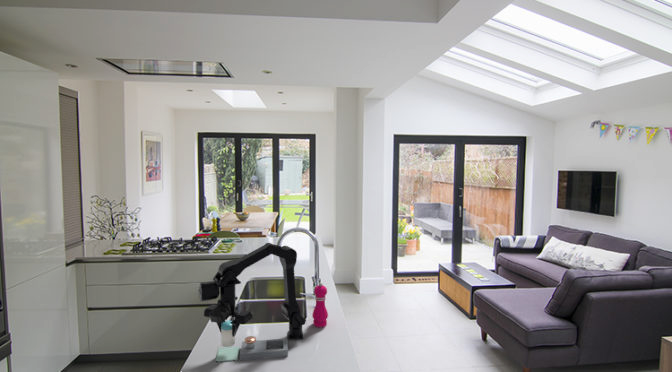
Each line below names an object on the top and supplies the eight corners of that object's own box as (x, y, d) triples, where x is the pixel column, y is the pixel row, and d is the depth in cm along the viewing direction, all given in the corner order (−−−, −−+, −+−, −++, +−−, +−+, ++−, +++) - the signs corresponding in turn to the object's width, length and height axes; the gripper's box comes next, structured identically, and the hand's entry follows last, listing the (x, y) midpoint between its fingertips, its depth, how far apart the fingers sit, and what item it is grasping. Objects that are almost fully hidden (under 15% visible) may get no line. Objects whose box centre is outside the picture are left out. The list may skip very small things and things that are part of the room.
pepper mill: (310, 322, 166) (310, 280, 164) (324, 319, 169) (325, 279, 167) (315, 329, 159) (316, 286, 158) (330, 326, 162) (331, 284, 161)
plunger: (245, 350, 141) (244, 336, 140) (256, 349, 142) (256, 335, 141) (244, 356, 136) (244, 342, 136) (255, 355, 137) (255, 341, 137)
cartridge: (218, 345, 136) (218, 325, 135) (227, 339, 140) (226, 319, 140) (229, 348, 134) (229, 327, 133) (237, 341, 138) (237, 322, 138)
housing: (242, 347, 143) (242, 341, 143) (286, 344, 146) (286, 338, 146) (240, 360, 134) (240, 353, 134) (287, 356, 137) (287, 350, 137)
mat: (219, 349, 141) (219, 348, 141) (239, 347, 143) (239, 346, 143) (215, 362, 132) (215, 360, 132) (237, 360, 134) (237, 359, 134)
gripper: (193, 300, 131) (193, 340, 132) (235, 308, 125) (235, 350, 126) (213, 289, 142) (213, 327, 143) (253, 296, 135) (253, 335, 137)
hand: (228, 334), depth 137 cm, fingers closed on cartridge, 5 cm apart
